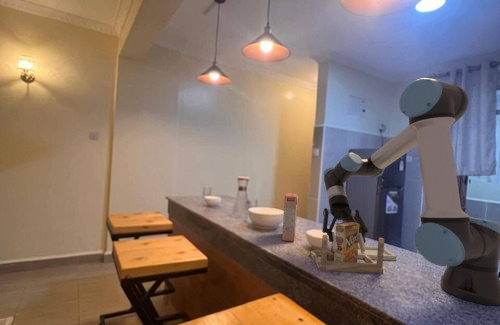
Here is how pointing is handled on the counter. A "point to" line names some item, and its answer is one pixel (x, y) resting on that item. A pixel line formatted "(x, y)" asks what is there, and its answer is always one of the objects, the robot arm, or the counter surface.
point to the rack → (348, 266)
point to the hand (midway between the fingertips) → (349, 250)
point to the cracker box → (289, 217)
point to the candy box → (347, 242)
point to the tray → (375, 253)
